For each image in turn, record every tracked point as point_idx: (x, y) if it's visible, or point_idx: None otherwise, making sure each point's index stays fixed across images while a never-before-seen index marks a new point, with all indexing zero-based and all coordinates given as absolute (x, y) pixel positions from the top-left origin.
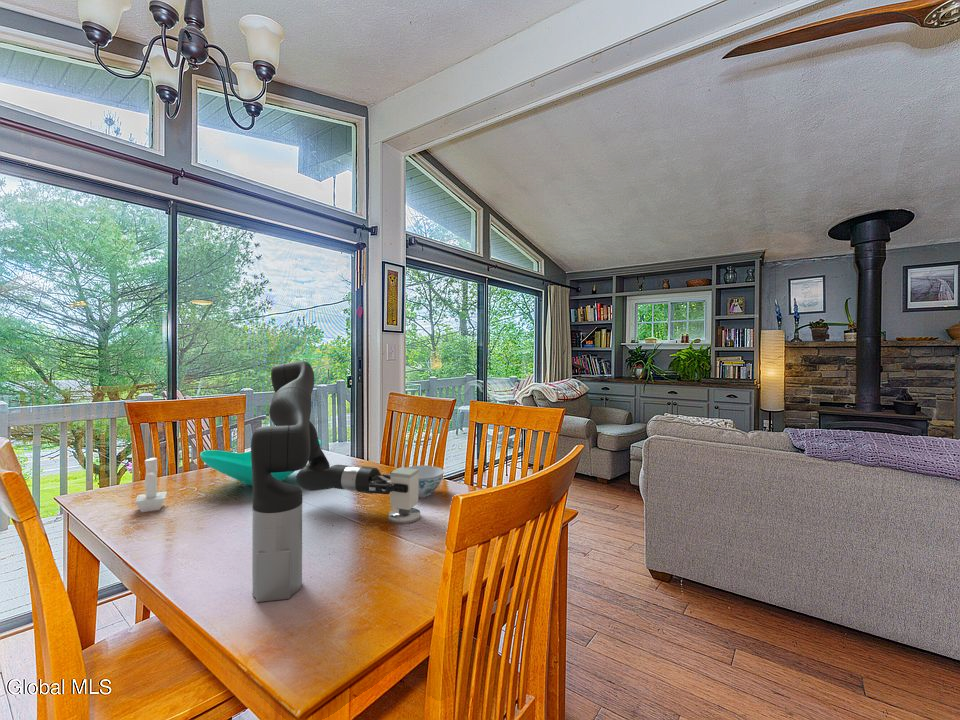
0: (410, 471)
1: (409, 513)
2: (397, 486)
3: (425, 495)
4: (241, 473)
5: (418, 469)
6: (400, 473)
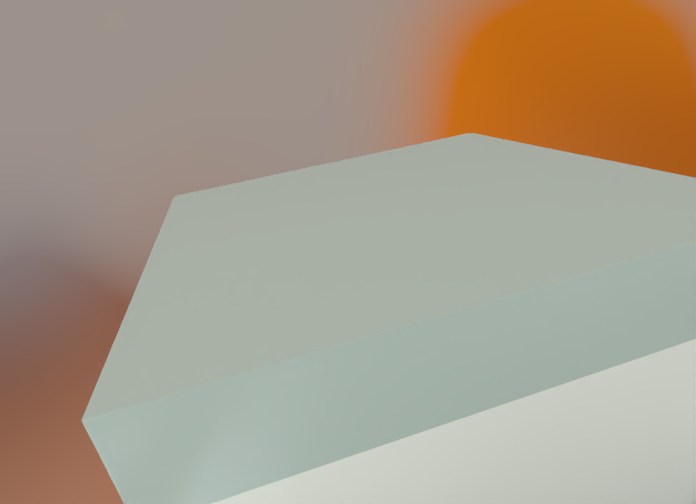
0: (348, 173)
1: None
2: None
3: None
4: None
5: (184, 197)
6: (564, 155)
